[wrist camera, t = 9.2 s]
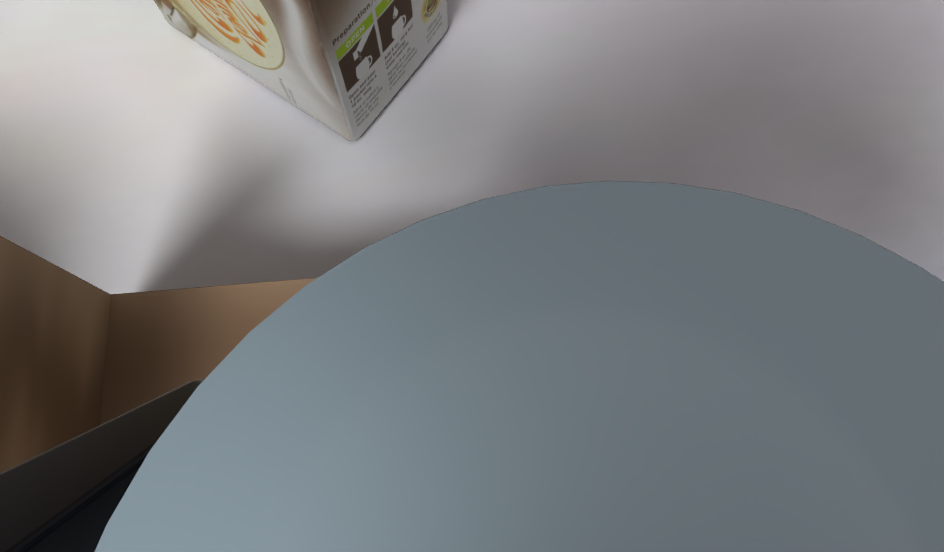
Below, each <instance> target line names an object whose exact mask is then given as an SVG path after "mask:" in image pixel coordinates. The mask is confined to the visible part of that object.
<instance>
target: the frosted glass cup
mask: <svg viewBox="0 0 944 552" xmlns="http://www.w3.org/2000/svg"><path fill="white" fill-rule="evenodd" d="M95 552H944V282H942V281H941V280H939V279H938V278H936V277H935V276H933V275H932V274H930V273H929V272H927V271H926V270H924V269H923V268H921V267H919V266H918V265H916V264H914V263H912V262H910V261H908V260H906V259H904V258H902V257H901V256H899V255H897V254H895V253H893V252H891V251H889V250H887V249H886V248H884V247H882V246H880V245H878V244H876V243H874V242H872V241H870V240H869V239H867V238H865V237H863V236H861V235H859V234H856V233H854V232H851V231H849V230H846V229H844V228H841V227H839V226H836V225H834V224H831V223H829V222H826V221H824V220H821V219H819V218H816V217H814V216H811V215H809V214H806V213H804V212H801V211H799V210H795V209H791V208H788V207H784V206H781V205H777V204H773V203H770V202H766V201H762V200H759V199H755V198H752V197H748V196H744V195H741V194H737V193H732V192H725V191H719V190H713V189H706V188H700V187H693V186H687V185H681V184H674V183H654V182H627V181H601V182H589V183H577V184H565V185H553V186H544V187H539V188H534V189H529V190H525V191H520V192H515V193H510V194H505V195H501V196H496V197H491V198H486V199H482V200H479V201H476V202H473V203H470V204H468V205H465V206H462V207H459V208H456V209H453V210H450V211H447V212H444V213H441V214H438V215H435V216H432V217H429V218H426V219H424V220H421V221H419V222H417V223H415V224H413V225H411V226H409V227H407V228H405V229H403V230H400V231H398V232H396V233H394V234H392V235H390V236H388V237H386V238H384V239H382V240H380V241H378V242H376V243H374V244H372V245H369V246H367V247H365V248H363V249H362V250H360V251H358V252H357V253H355V254H354V255H352V256H351V257H349V258H348V259H346V260H345V261H343V262H341V263H340V264H338V265H337V266H335V267H334V268H332V269H331V270H329V271H327V272H326V273H324V274H323V275H321V276H320V277H318V278H317V279H315V280H314V281H312V282H310V283H309V284H307V285H306V286H304V287H303V288H302V289H301V290H300V291H298V292H297V293H296V294H295V295H294V296H292V297H291V298H290V299H289V300H288V301H286V302H285V303H284V304H283V305H282V306H280V307H279V308H278V309H277V310H276V311H274V312H273V313H272V314H271V315H269V316H268V317H267V318H266V319H265V320H263V321H262V322H261V323H260V324H259V325H257V326H256V327H255V328H254V329H253V330H251V331H250V332H249V333H248V334H247V335H246V336H245V337H244V338H243V340H242V341H241V342H240V343H239V344H238V345H237V346H236V347H235V348H234V349H233V350H232V351H231V352H230V353H229V354H228V355H227V356H226V357H225V359H224V360H223V361H222V362H221V363H220V364H219V365H218V366H217V367H216V368H215V369H214V370H213V371H212V372H211V373H210V374H209V375H208V376H207V378H206V379H205V380H204V381H203V382H202V383H201V384H200V385H199V386H198V387H197V388H196V390H195V391H194V392H193V394H192V395H191V396H190V398H189V399H188V400H187V402H186V403H185V404H184V406H183V407H182V408H181V410H180V411H179V412H178V414H177V415H176V416H175V418H174V419H173V420H172V422H171V423H170V424H169V426H168V427H167V428H166V430H165V431H164V432H163V434H162V435H161V436H160V438H159V439H158V440H157V442H156V443H155V444H154V446H153V447H152V448H151V450H150V451H149V453H148V455H147V456H146V458H145V460H144V461H143V463H142V465H141V467H140V468H139V470H138V472H137V473H136V475H135V477H134V479H133V480H132V482H131V484H130V485H129V487H128V489H127V491H126V492H125V494H124V496H123V497H122V499H121V501H120V502H119V504H118V506H117V508H116V509H115V511H114V513H113V514H112V516H111V518H110V520H109V521H108V523H107V525H106V527H105V529H104V532H103V534H102V536H101V538H100V541H99V543H98V545H97V547H96V550H95Z"/></svg>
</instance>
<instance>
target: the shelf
mask: <svg viewBox="0 0 944 552" xmlns="http://www.w3.org/2000/svg"><path fill="white" fill-rule="evenodd" d="M315 279H317V278H308V279H296V280H284V281H271V282H259V283H247V284H234V285H222V286H210V287H197V288H185V289H173V290H160V291H148V292H136V293H123V294H111V295H110V294H109V293H107V292H105V291H103V290H101V289H99V288H97V287H95V286H93V285H92V284H90V283H88V282H86V281H84V280H82V279H80V278H78V277H77V276H75V275H73V274H71V273H69V272H67V271H65V270H63V269H62V268H60V267H58V266H56V265H54V264H52V263H50V262H48V261H46V260H45V259H43V258H41V257H39V256H37V255H35V254H33V253H31V252H30V251H28V250H26V249H24V248H22V247H20V246H18V245H16V244H15V243H13V242H11V241H9V240H7V239H5V238H3V237H1V236H0V473H2V472H4V471H6V470H8V469H10V468H13V467H15V466H17V465H19V464H21V463H23V462H25V461H27V460H29V459H31V458H33V457H35V456H37V455H39V454H41V453H44V452H46V451H48V450H50V449H52V448H54V447H56V446H58V445H60V444H62V443H64V442H66V441H68V440H70V439H72V438H74V437H77V436H79V435H81V434H83V433H85V432H87V431H89V430H91V429H93V428H95V427H97V426H99V425H101V424H103V423H105V422H108V421H110V420H112V419H114V418H116V417H118V416H120V415H122V414H124V413H126V412H128V411H130V410H132V409H134V408H136V407H138V406H141V405H143V404H145V403H147V402H149V401H151V400H153V399H155V398H157V397H159V396H161V395H163V394H165V393H167V392H169V391H172V390H174V389H176V388H178V387H180V386H182V385H184V384H186V383H188V382H190V381H193V380H205V379H206V378H207V376H208V375H209V374H210V373H211V372H212V371H213V370H214V369H215V368H216V367H217V366H218V365H219V364H220V363H221V362H222V361H223V360H224V359H225V357H226V356H227V355H228V354H229V353H230V352H231V351H232V350H233V349H234V348H235V347H236V346H237V345H238V344H239V343H240V342H241V341H242V340H243V338H244V337H245V336H246V335H247V334H248V333H249V332H250V331H251V330H253V329H254V328H255V327H256V326H257V325H259V324H260V323H261V322H262V321H263V320H265V319H266V318H267V317H268V316H269V315H271V314H272V313H273V312H274V311H276V310H277V309H278V308H279V307H280V306H282V305H283V304H284V303H285V302H286V301H288V300H289V299H290V298H291V297H292V296H294V295H295V294H296V293H297V292H298V291H300V290H301V289H302V288H303V287H304V286H306V285H307V284H309V283H310V282H312V281H314V280H315Z"/></svg>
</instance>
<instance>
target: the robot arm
mask: <svg viewBox="0 0 944 552" xmlns="http://www.w3.org/2000/svg"><path fill="white" fill-rule="evenodd" d="M203 381H204V380H193V381H190V382H188V383H186V384H184V385H182V386H180V387H178V388H176V389H174V390H172V391H169V392H167V393H165V394H163V395H161V396H159V397H157V398H155V399H153V400H151V401H149V402H147V403H145V404H143V405H141V406H138V407H136V408H134V409H132V410H130V411H128V412H126V413H124V414H122V415H120V416H118V417H116V418H114V419H112V420H110V421H108V422H105V423H103V424H101V425H99V426H97V427H95V428H93V429H91V430H89V431H87V432H85V433H83V434H81V435H79V436H77V437H74V438H72V439H70V440H68V441H66V442H64V443H62V444H60V445H58V446H56V447H54V448H52V449H50V450H48V451H46V452H44V453H41V454H39V455H37V456H35V457H33V458H31V459H29V460H27V461H25V462H23V463H21V464H19V465H17V466H15V467H13V468H10V469H8V470H6V471H4V472H2V473H0V552H95V550H96V547H97V545H98V543H99V541H100V538H101V536H102V534H103V532H104V529H105V527H106V525H107V523H108V521H109V520H110V518H111V516H112V514H113V513H114V511H115V509H116V508H117V506H118V504H119V502H120V501H121V499H122V497H123V496H124V494H125V492H126V491H127V489H128V487H129V485H130V484H131V482H132V480H133V479H134V477H135V475H136V473H137V472H138V470H139V468H140V467H141V465H142V463H143V461H144V460H145V458H146V456H147V455H148V453H149V451H150V450H151V448H152V447H153V446H154V444H155V443H156V442H157V440H158V439H159V438H160V436H161V435H162V434H163V432H164V431H165V430H166V428H167V427H168V426H169V424H170V423H171V422H172V420H173V419H174V418H175V416H176V415H177V414H178V412H179V411H180V410H181V408H182V407H183V406H184V404H185V403H186V402H187V400H188V399H189V398H190V396H191V395H192V394H193V392H194V391H195V390H196V388H197V387H198V386H199V385H200V384H201V383H202V382H203Z"/></svg>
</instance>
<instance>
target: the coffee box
mask: <svg viewBox="0 0 944 552" xmlns="http://www.w3.org/2000/svg"><path fill="white" fill-rule="evenodd" d="M154 1H155V3H156V4H157V6H158V7H159V9H160V10H161V12H162V14H163V15H164V17H165V19H166V20H167V22H168V23H169V24H170V25H172V26H173V27H175V28H176V29H178V30H179V31H181V32H182V33H184V34H185V35H187V36H188V37H190V38H191V39H192V40H194V41H196V42H197V43H199V44H200V45H202V46H203V47H205V48H206V49H208V50H209V51H211V52H213V53H214V54H216V55H217V56H219V57H220V58H222V59H223V60H225V61H227V62H228V63H230V64H231V65H233V66H234V67H236V68H238V69H239V70H241V71H242V72H244V73H245V74H247V75H248V76H250V77H251V78H253V79H254V80H256V81H257V82H259V83H261V84H262V85H264V86H265V87H267V88H268V89H270V90H271V91H273V92H274V93H276V94H277V95H279V96H281V97H282V98H284V99H285V100H287V101H288V102H290V103H292V104H293V105H295V106H296V107H298V108H299V109H301V110H303V111H304V112H306V113H307V114H309V115H310V116H312V117H313V118H315V119H317V120H318V121H320V122H321V123H323V124H324V125H326V126H327V127H329V128H330V129H332V130H334V131H335V132H337V133H338V134H340V135H341V136H343V137H344V138H346V139H348V140H350V141H356V140H357V139H358V138H359V137H361V135H362V134H363V133H364V132H365V131H366V129H367V128H368V127H369V126H370V125H371V123H372V122H373V121H374V120H375V118H376V117H377V116H378V115H379V114H380V112H381V111H382V110H383V109H384V108H385V106H386V105H387V104H388V103H389V102H390V100H391V99H392V98H393V97H394V96H395V94H396V93H397V92H398V91H399V89H400V88H401V87H402V86H403V85H404V83H405V82H406V81H407V80H408V79H409V77H410V76H411V75H412V74H413V73H414V71H415V70H416V69H417V68H418V66H419V65H420V64H421V63H422V61H423V60H424V59H425V58H426V56H427V55H428V54H429V53H430V51H431V50H432V49H433V48H434V47H435V45H436V44H437V43H438V42H439V40H440V39H441V38H442V37H443V35H444V34H445V33H446V31H447V29H448V12H447V0H154Z"/></svg>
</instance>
